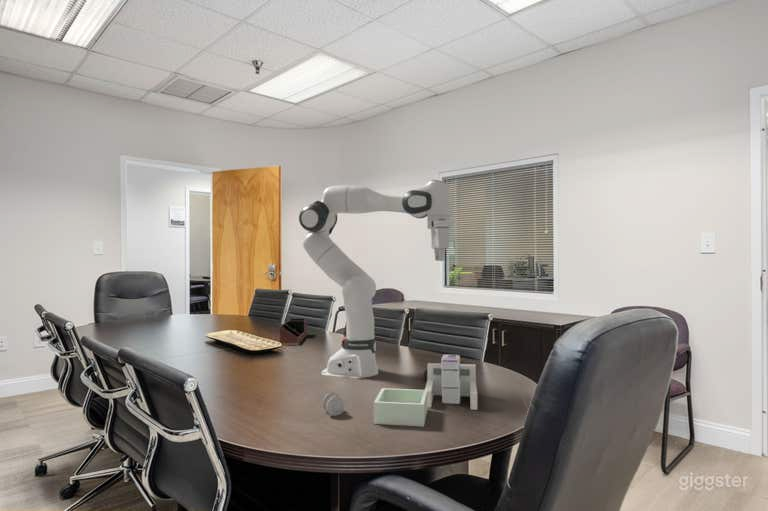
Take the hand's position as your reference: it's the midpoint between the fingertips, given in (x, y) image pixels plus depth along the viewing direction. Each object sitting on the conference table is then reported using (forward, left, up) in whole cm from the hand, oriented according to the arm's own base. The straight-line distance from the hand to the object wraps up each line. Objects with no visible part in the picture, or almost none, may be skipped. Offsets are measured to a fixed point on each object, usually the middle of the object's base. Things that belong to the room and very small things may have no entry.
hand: (439, 260), depth 174 cm
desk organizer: (-82, +66, -45) cm, 115 cm away
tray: (-10, -40, -45) cm, 61 cm away
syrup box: (+4, -24, -45) cm, 51 cm away
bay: (+4, -24, -45) cm, 51 cm away
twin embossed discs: (-30, -41, -45) cm, 68 cm away
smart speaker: (-2, 0, -45) cm, 45 cm away
